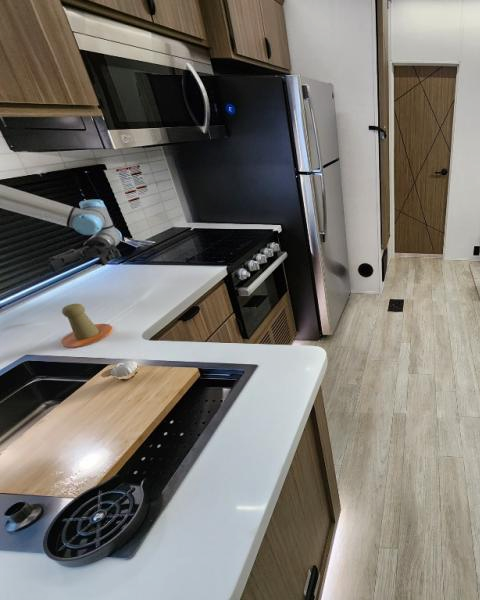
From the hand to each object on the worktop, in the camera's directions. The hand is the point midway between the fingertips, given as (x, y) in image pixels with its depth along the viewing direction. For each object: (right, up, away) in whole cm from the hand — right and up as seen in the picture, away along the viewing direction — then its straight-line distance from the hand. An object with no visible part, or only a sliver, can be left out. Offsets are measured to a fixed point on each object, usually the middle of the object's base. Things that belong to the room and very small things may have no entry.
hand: (77, 265), depth 113 cm
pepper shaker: (+7, -24, -4) cm, 25 cm away
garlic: (+36, -34, -21) cm, 53 cm away
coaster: (+7, -24, -4) cm, 25 cm away
